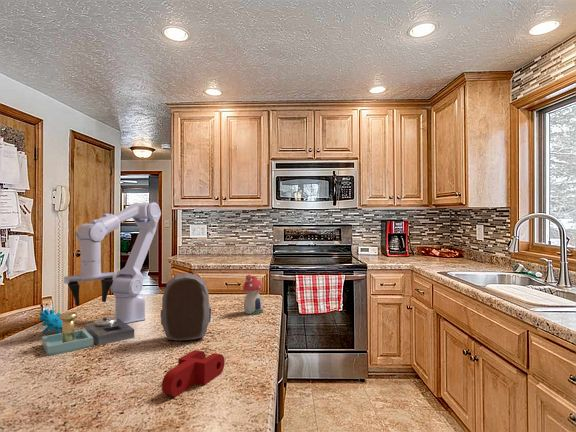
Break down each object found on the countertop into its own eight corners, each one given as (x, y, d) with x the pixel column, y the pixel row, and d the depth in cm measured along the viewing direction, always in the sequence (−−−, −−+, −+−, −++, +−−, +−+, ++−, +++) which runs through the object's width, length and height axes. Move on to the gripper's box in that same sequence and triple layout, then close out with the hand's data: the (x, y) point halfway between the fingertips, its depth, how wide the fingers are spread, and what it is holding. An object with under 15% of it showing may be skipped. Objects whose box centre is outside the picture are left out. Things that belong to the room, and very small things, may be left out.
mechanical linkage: (199, 367, 90) (199, 347, 90) (224, 372, 87) (224, 351, 87) (152, 396, 75) (152, 372, 75) (180, 403, 73) (180, 378, 73)
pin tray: (84, 337, 113) (84, 329, 113) (93, 346, 104) (93, 337, 104) (41, 345, 106) (41, 336, 106) (47, 356, 97) (47, 346, 97)
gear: (55, 333, 111) (36, 309, 113) (41, 347, 111) (21, 323, 112) (78, 327, 122) (60, 305, 124) (65, 340, 122) (47, 318, 123)
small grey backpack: (158, 344, 106) (158, 275, 107) (163, 335, 115) (163, 271, 115) (211, 341, 109) (211, 273, 109) (212, 332, 117) (212, 270, 117)
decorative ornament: (248, 316, 136) (248, 276, 136) (238, 313, 140) (238, 274, 141) (267, 312, 142) (267, 273, 142) (257, 309, 147) (256, 271, 147)
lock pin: (78, 340, 108) (78, 311, 108) (75, 345, 104) (75, 315, 104) (61, 341, 107) (61, 312, 106) (57, 347, 102) (57, 317, 102)
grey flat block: (118, 325, 125) (118, 312, 125) (134, 337, 112) (134, 323, 112) (85, 331, 118) (85, 318, 118) (98, 344, 106) (98, 330, 106)
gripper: (111, 258, 125) (111, 298, 125) (62, 261, 116) (62, 304, 115) (117, 260, 120) (117, 301, 120) (66, 263, 110) (66, 308, 110)
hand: (90, 303), depth 117 cm, fingers open, 7 cm apart
